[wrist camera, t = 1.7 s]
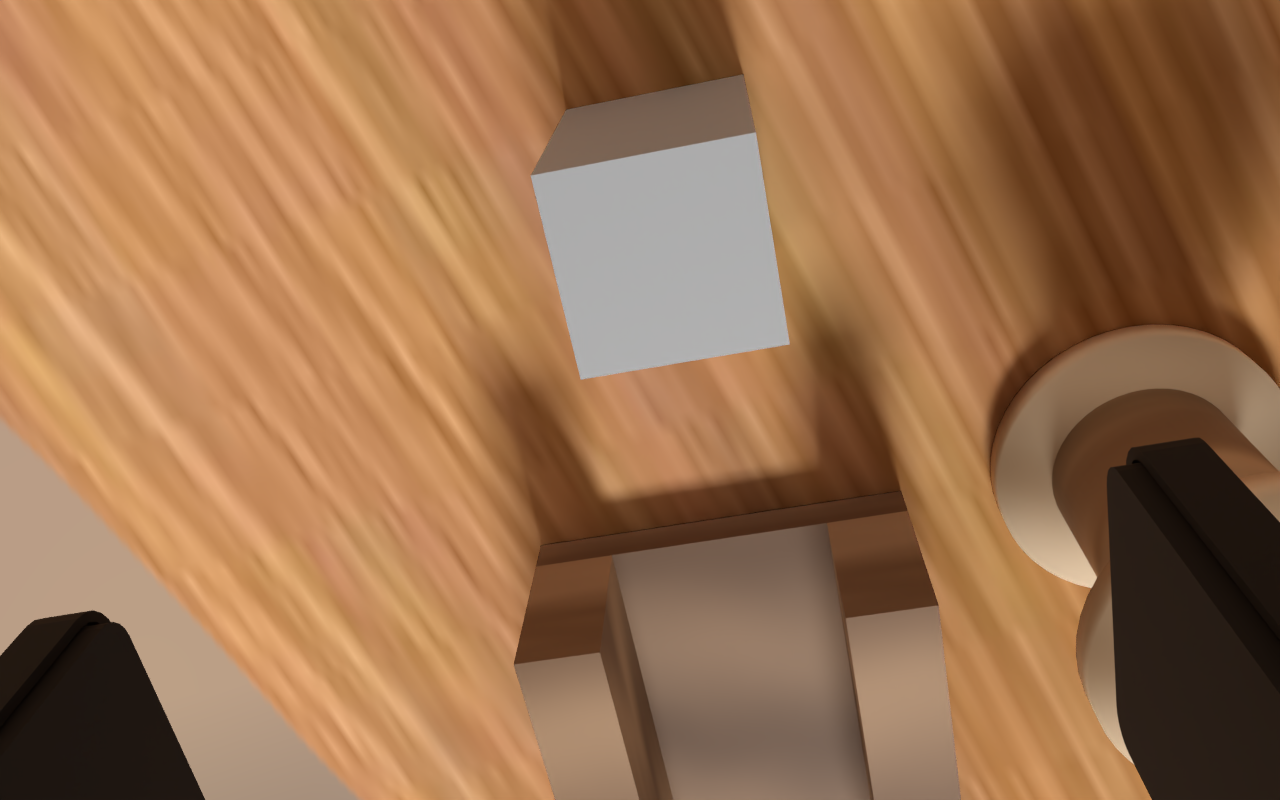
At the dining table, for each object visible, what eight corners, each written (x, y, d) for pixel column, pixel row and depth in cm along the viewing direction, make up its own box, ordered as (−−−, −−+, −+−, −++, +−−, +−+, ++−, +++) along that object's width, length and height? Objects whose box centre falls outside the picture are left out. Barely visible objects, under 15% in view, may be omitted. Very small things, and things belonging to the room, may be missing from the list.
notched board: (541, 545, 30) (513, 664, 26) (901, 490, 29) (938, 605, 25) (632, 872, 35) (623, 1020, 31) (944, 837, 34) (982, 985, 30)
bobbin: (979, 351, 28) (1080, 524, 20) (1284, 300, 27) (1504, 463, 19) (1000, 591, 30) (1095, 818, 23) (1277, 552, 30) (1466, 775, 22)
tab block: (565, 109, 26) (530, 175, 20) (743, 74, 25) (755, 132, 20) (604, 276, 27) (580, 379, 22) (771, 246, 27) (789, 344, 21)
